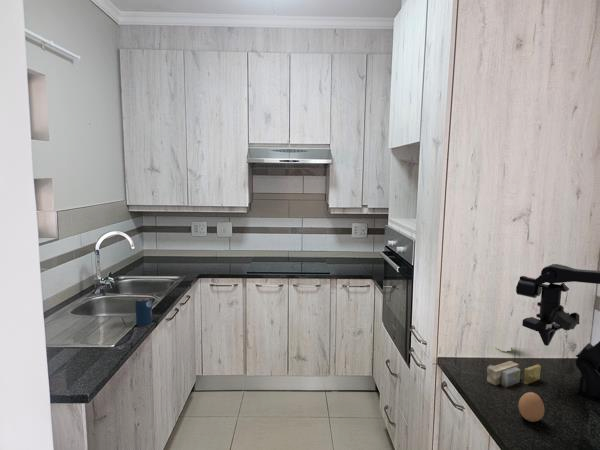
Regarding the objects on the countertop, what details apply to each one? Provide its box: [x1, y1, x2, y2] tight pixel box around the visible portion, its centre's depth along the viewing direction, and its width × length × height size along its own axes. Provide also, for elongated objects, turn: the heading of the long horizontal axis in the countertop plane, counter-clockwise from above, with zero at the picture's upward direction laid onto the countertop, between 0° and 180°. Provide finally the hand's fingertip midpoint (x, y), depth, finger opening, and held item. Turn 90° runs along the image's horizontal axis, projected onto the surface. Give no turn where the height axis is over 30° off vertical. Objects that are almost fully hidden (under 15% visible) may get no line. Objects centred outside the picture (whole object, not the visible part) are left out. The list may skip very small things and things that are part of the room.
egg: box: [518, 391, 545, 423], centre depth 116 cm, size 6×6×8 cm
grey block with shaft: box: [486, 364, 522, 388], centre depth 140 cm, size 9×7×5 cm
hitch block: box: [486, 360, 520, 386], centre depth 139 cm, size 3×12×5 cm, turn 118°
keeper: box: [523, 363, 542, 385], centre depth 138 cm, size 1×7×5 cm, turn 118°
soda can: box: [134, 296, 153, 328], centre depth 183 cm, size 7×7×12 cm
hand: (546, 345), depth 139 cm, fingers closed
